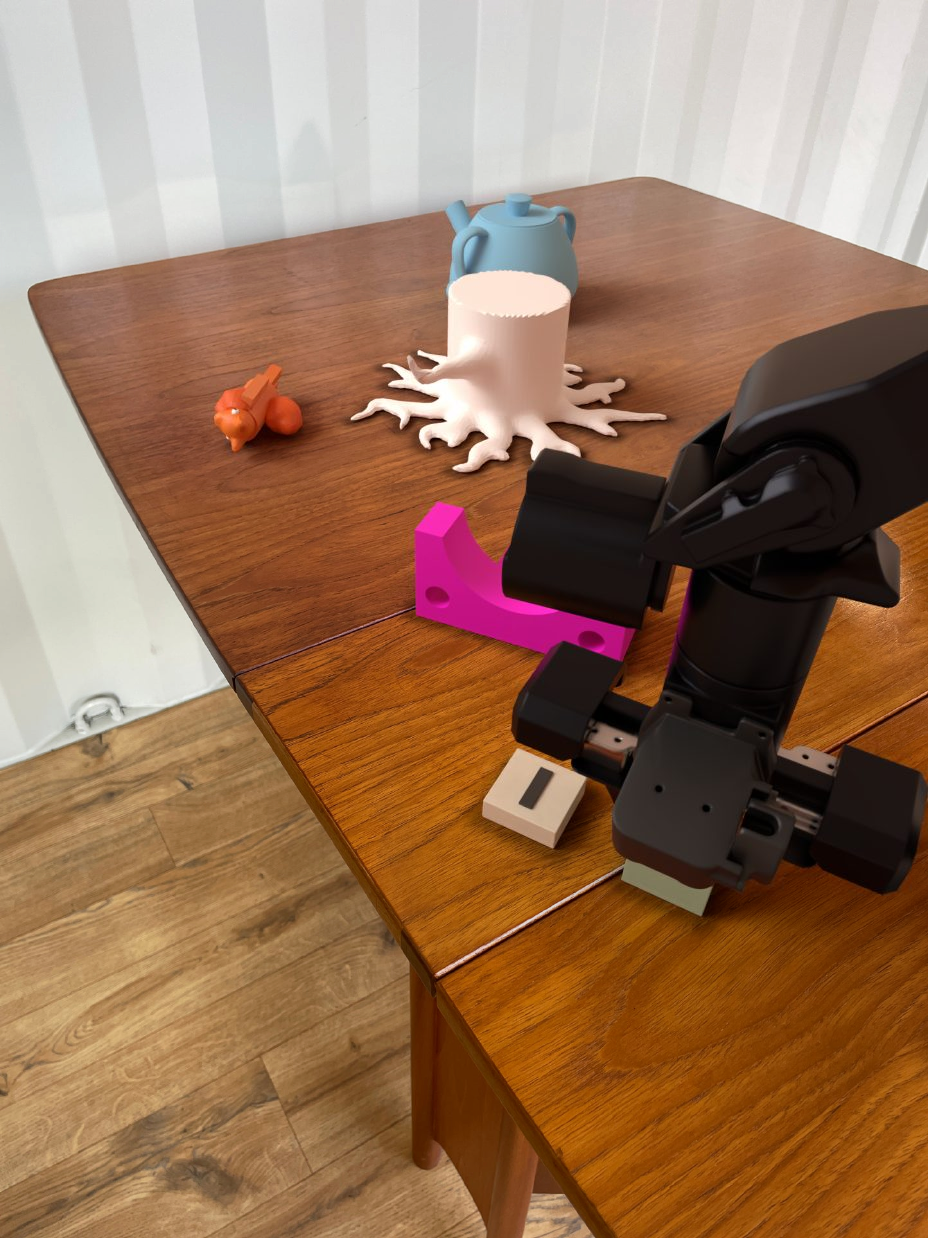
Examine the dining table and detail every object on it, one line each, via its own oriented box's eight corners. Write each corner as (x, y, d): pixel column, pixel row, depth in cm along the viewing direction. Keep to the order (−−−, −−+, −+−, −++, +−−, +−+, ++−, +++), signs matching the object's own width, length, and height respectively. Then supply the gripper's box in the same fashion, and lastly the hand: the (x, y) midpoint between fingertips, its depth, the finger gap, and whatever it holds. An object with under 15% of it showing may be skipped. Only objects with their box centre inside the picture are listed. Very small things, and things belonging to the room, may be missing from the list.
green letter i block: (725, 853, 50) (746, 796, 46) (701, 917, 47) (722, 860, 43) (648, 820, 51) (664, 762, 48) (620, 880, 48) (635, 822, 45)
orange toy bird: (252, 343, 85) (204, 401, 76) (326, 374, 86) (287, 434, 77) (243, 388, 88) (195, 448, 79) (314, 417, 89) (275, 480, 80)
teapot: (490, 347, 100) (496, 229, 91) (387, 292, 111) (384, 183, 103) (613, 307, 109) (628, 197, 101) (507, 260, 121) (512, 158, 113)
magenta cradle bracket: (639, 619, 65) (656, 535, 60) (616, 674, 60) (632, 588, 55) (450, 567, 69) (452, 484, 64) (415, 614, 64) (414, 529, 60)
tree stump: (510, 515, 74) (520, 389, 67) (297, 402, 89) (285, 288, 81) (688, 406, 90) (711, 294, 83) (482, 325, 104) (486, 223, 97)
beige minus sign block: (584, 793, 53) (587, 775, 52) (553, 849, 50) (556, 831, 49) (516, 763, 54) (517, 745, 53) (481, 816, 51) (483, 798, 50)
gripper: (462, 681, 36) (455, 895, 46) (957, 880, 29) (821, 1079, 40) (571, 541, 43) (544, 752, 54) (985, 676, 37) (865, 887, 47)
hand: (677, 856), depth 48 cm, fingers open, 5 cm apart
